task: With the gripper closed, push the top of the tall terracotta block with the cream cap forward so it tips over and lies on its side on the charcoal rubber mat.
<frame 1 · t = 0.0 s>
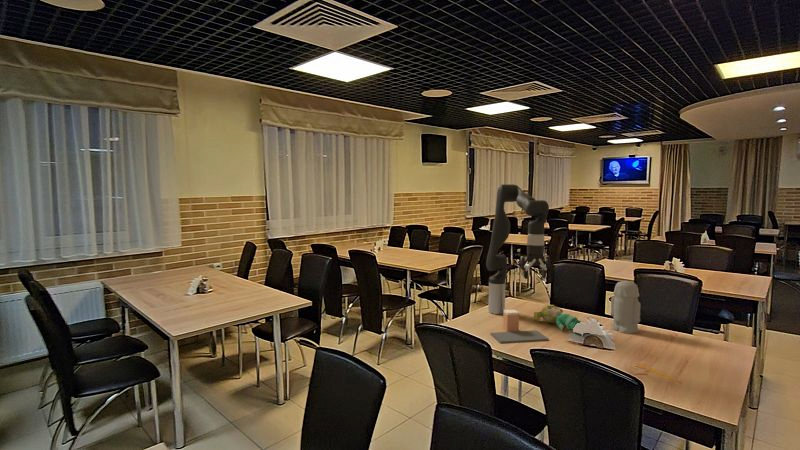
hand: (534, 278, 198), 29 cm above the table, tool pointing down, fingers open, 8 cm apart
block: (510, 330, 213), on the table
grey stone figurine: (624, 330, 214), on the table
toy: (563, 327, 219), on the table
pencil: (656, 373, 165), on the table
mat: (518, 337, 204), on the table
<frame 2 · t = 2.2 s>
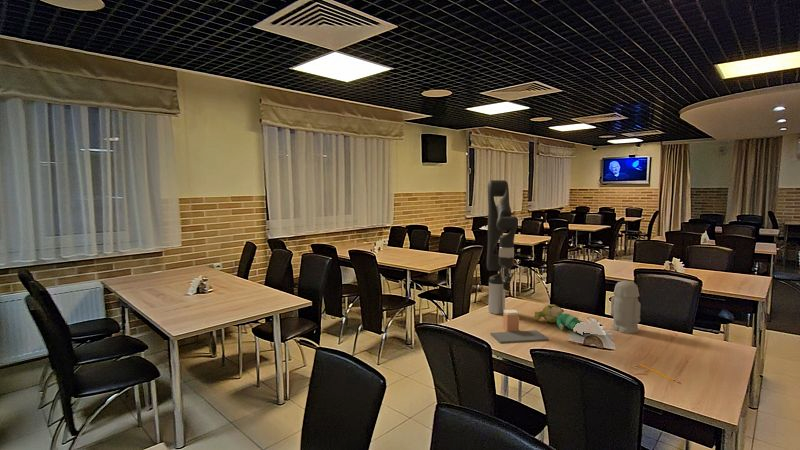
hand: (505, 289, 219), 19 cm above the table, tool pointing down, fingers closed
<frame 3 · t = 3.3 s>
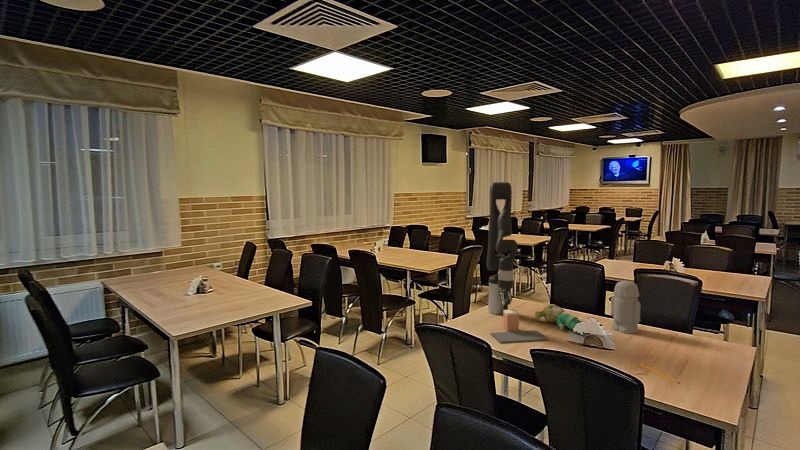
hand: (505, 311, 220), 8 cm above the table, tool pointing down, fingers closed
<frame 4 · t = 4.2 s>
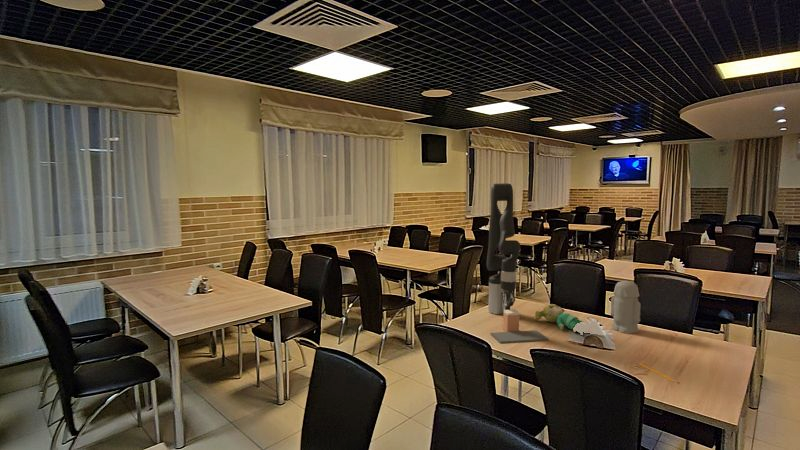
hand: (507, 313, 216), 8 cm above the table, tool pointing down, fingers closed
block: (510, 330, 213), on the table, touching gripper
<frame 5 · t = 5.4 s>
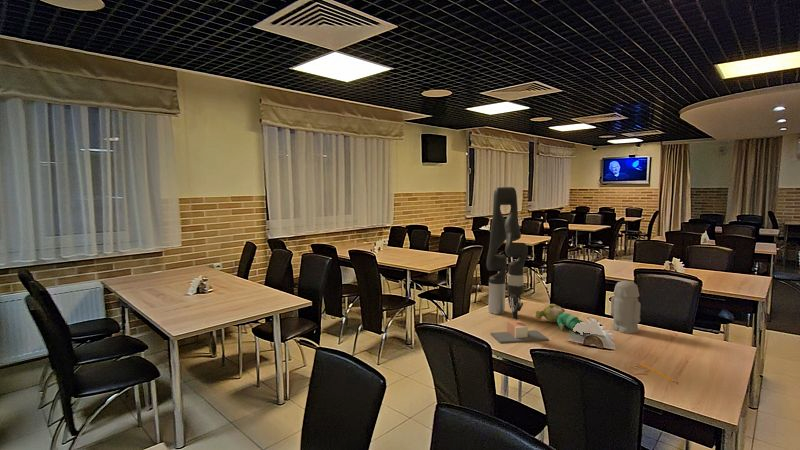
hand: (514, 318, 208), 8 cm above the table, tool pointing down, fingers closed
block: (512, 325, 211), point 3 cm above the table, tilted 90°, touching mat
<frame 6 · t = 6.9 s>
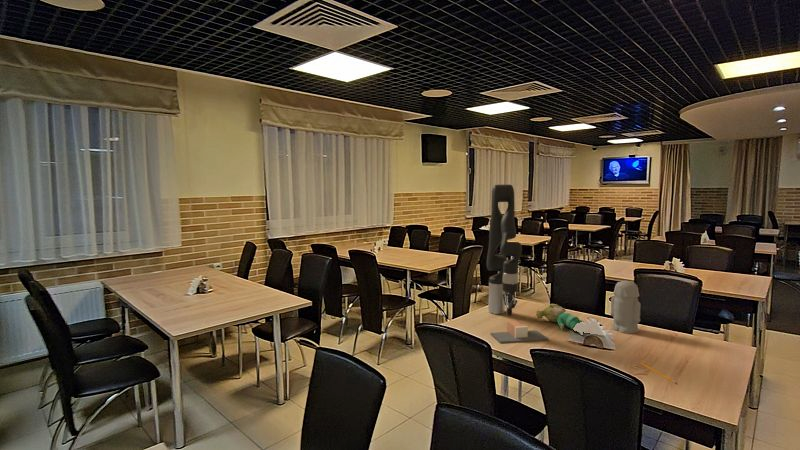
hand: (509, 315, 215), 7 cm above the table, tool pointing down, fingers closed
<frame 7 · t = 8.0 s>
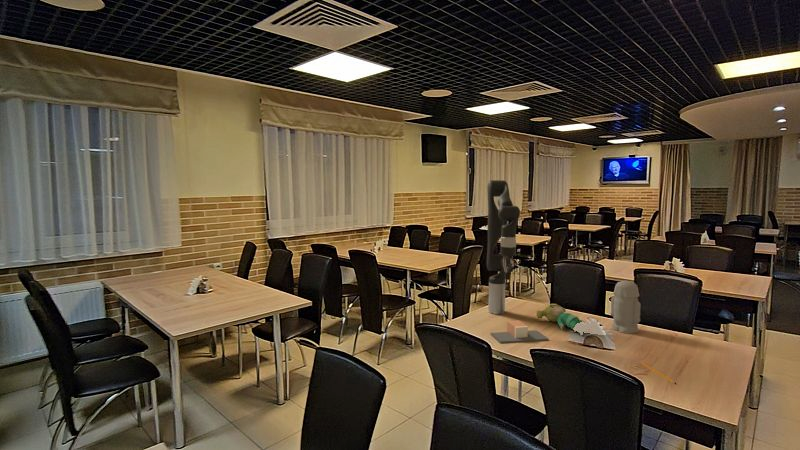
hand: (507, 279, 216), 25 cm above the table, tool pointing down, fingers closed
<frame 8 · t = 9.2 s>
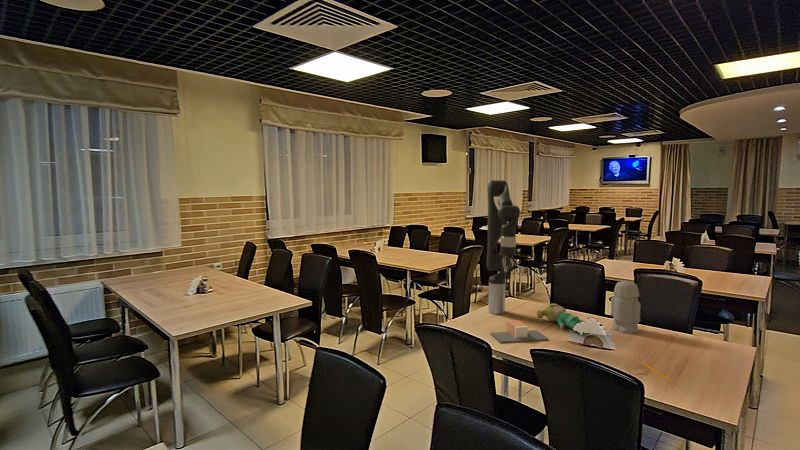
hand: (507, 279, 216), 25 cm above the table, tool pointing down, fingers closed
at the end: block tilted 90°; block touching mat; block inside the target area (1.4 cm from its centre), point 3.3 cm above the table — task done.
